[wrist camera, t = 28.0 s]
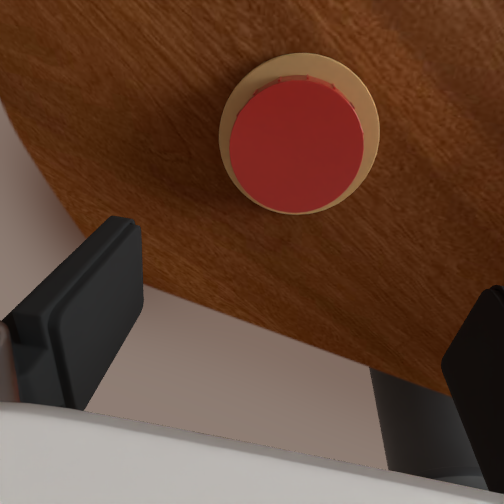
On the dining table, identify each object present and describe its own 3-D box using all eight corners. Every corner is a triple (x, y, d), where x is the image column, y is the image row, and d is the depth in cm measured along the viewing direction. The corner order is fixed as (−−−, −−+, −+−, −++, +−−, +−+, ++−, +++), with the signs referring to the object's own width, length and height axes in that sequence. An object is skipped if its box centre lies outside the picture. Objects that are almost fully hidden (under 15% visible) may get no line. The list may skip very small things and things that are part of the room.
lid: (255, 54, 19) (251, 57, 17) (383, 101, 19) (390, 109, 17) (220, 178, 22) (214, 190, 21) (327, 214, 23) (329, 229, 21)
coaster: (359, 217, 23) (361, 221, 23) (220, 204, 24) (218, 208, 23) (396, 58, 18) (399, 59, 18) (220, 47, 19) (217, 48, 19)
